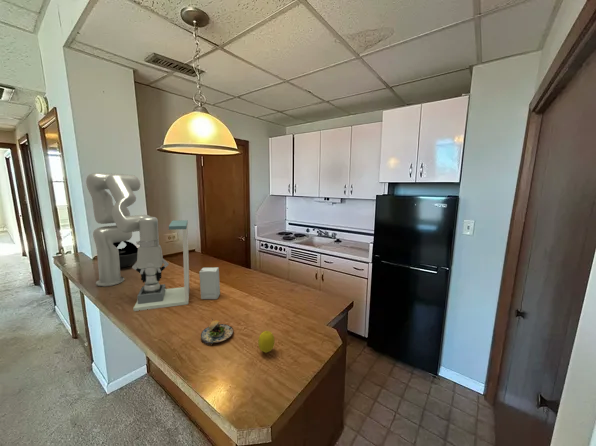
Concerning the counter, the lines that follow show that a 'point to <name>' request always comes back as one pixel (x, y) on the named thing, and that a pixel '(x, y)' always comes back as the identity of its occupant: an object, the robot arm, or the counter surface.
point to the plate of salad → (216, 333)
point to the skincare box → (209, 283)
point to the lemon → (266, 341)
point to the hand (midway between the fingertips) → (151, 280)
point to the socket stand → (164, 295)
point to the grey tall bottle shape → (151, 279)
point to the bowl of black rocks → (127, 254)
